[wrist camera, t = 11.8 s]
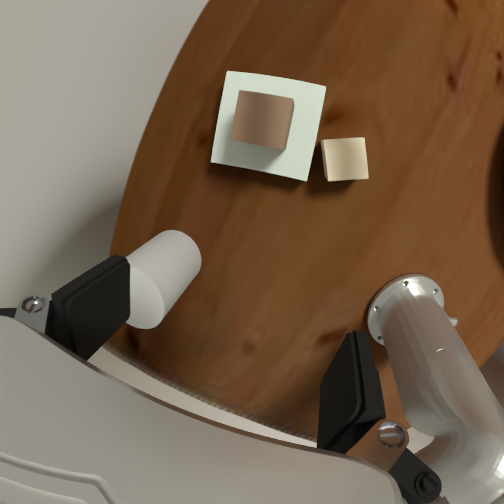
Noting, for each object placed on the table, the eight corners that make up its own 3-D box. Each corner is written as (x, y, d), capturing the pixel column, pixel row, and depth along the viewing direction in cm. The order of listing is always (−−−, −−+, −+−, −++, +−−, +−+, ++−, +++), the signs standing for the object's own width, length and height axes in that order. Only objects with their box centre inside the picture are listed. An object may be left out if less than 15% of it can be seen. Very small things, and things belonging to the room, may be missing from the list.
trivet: (324, 91, 28) (326, 86, 25) (306, 178, 32) (306, 181, 29) (233, 76, 29) (227, 71, 26) (218, 160, 33) (210, 162, 30)
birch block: (356, 138, 29) (364, 137, 25) (360, 174, 31) (368, 178, 27) (320, 140, 30) (323, 140, 26) (324, 176, 32) (328, 181, 28)
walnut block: (294, 106, 26) (293, 98, 22) (285, 149, 28) (282, 150, 24) (249, 98, 27) (239, 89, 22) (240, 140, 29) (229, 140, 24)
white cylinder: (143, 236, 39) (93, 270, 28) (190, 224, 37) (146, 259, 26) (162, 285, 42) (122, 329, 31) (208, 277, 39) (175, 327, 29)
